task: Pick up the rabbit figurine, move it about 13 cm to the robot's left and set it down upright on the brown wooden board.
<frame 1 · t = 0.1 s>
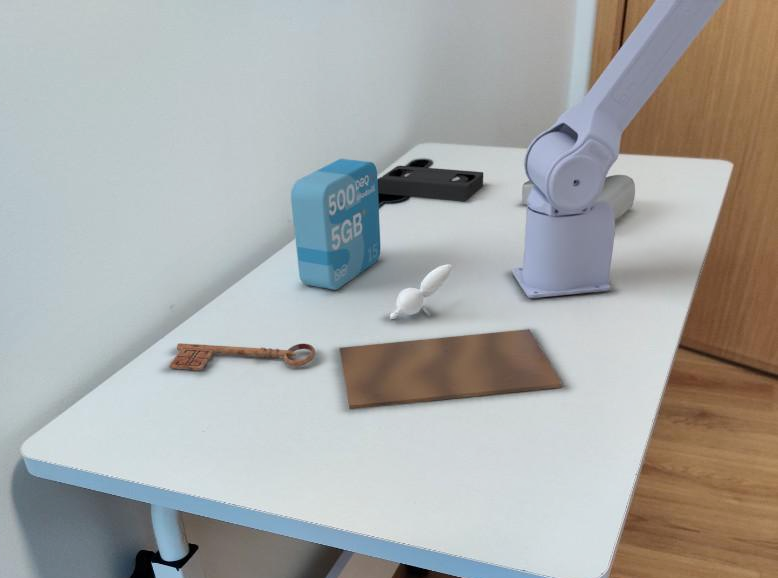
rabbit figurine: (424, 315, 93), on the table
brown wooden board: (444, 368, 83), on the table
key: (242, 361, 86), on the table
infrared thermometer: (566, 217, 115), on the table
data package: (342, 275, 103), on the table
vhs tape: (430, 190, 127), on the table
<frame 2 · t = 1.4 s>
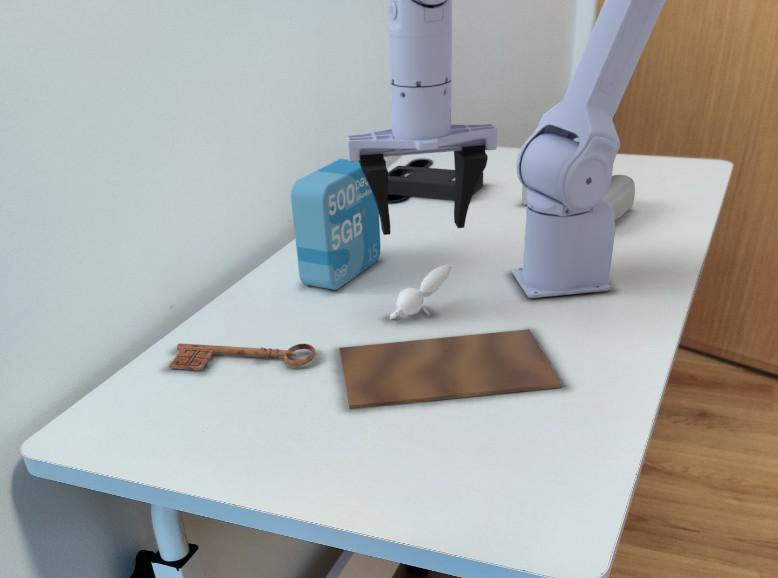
hand: (422, 228, 87), 9 cm above the table, tool pointing down, fingers open, 7 cm apart
nothing on the table moved.
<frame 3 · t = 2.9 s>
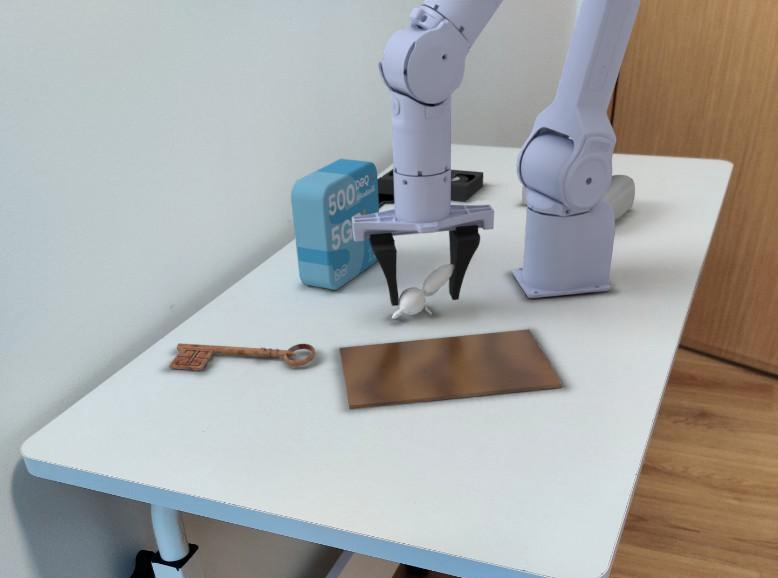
hand: (423, 299, 92), 2 cm above the table, tool pointing down, fingers closed on rabbit figurine, 6 cm apart
rabbit figurine: (426, 315, 93), on the table, touching gripper
everything else where it was.
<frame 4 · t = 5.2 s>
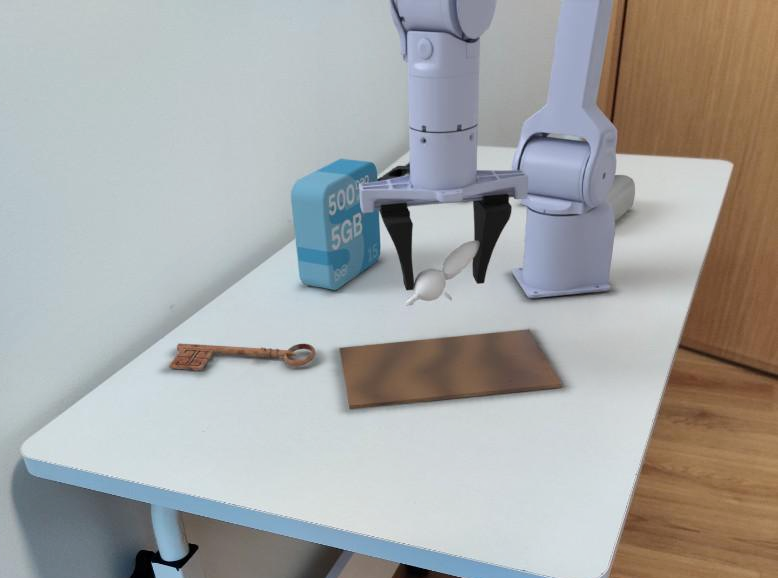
hand: (443, 282, 78), 8 cm above the table, tool pointing down, fingers closed on rabbit figurine, 6 cm apart
rabbit figurine: (445, 301, 79), point 6 cm above the table, touching gripper
everything else where it was.
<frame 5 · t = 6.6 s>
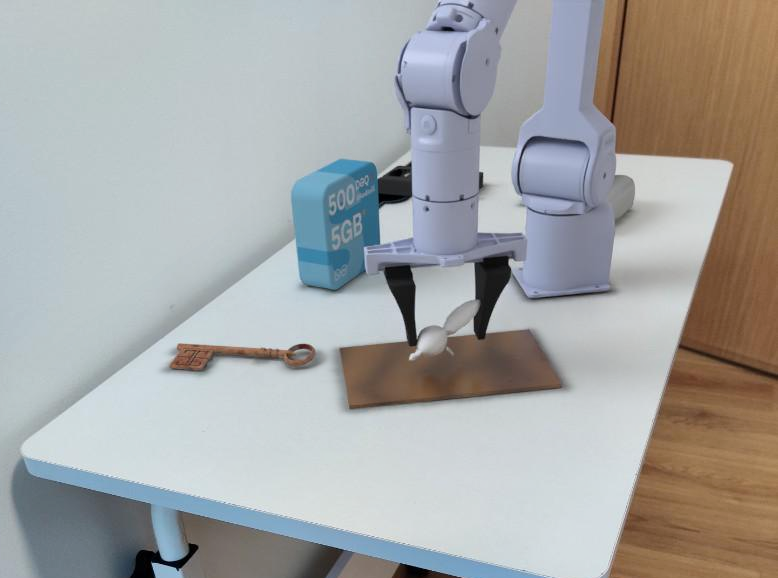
hand: (445, 338, 81), 3 cm above the table, tool pointing down, fingers closed on rabbit figurine, 6 cm apart
rabbit figurine: (447, 356, 82), point 1 cm above the table, touching gripper
everything else where it was.
when the fingers open (2 cm above the table, at t = 7.6 s): rabbit figurine stays where it is, resting on brown wooden board.
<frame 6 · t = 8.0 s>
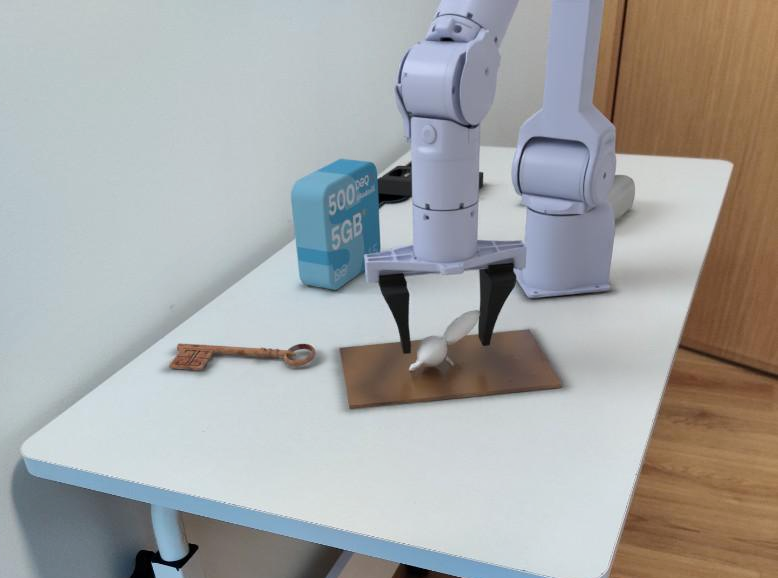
hand: (445, 345, 81), 2 cm above the table, tool pointing down, fingers open, 7 cm apart
rabbit figurine: (447, 366, 82), resting on brown wooden board
everything else where it was.
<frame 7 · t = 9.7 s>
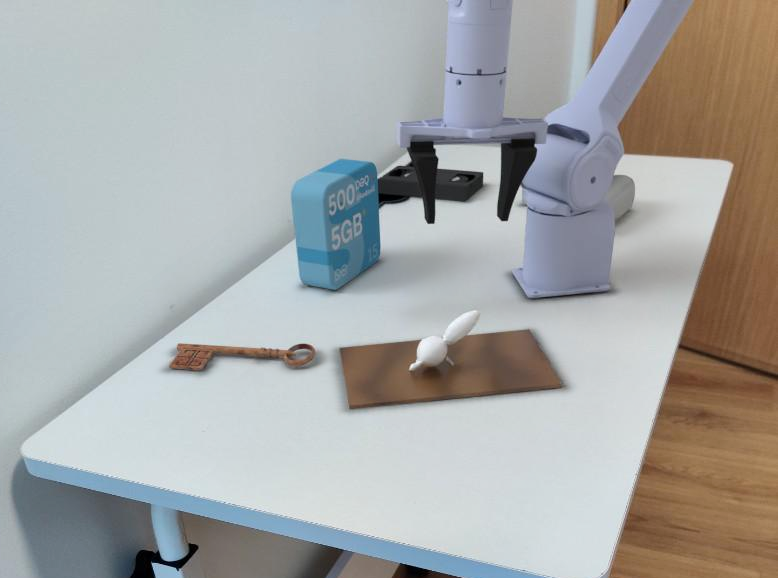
hand: (466, 219, 87), 10 cm above the table, tool pointing down, fingers open, 7 cm apart
nothing on the table moved.
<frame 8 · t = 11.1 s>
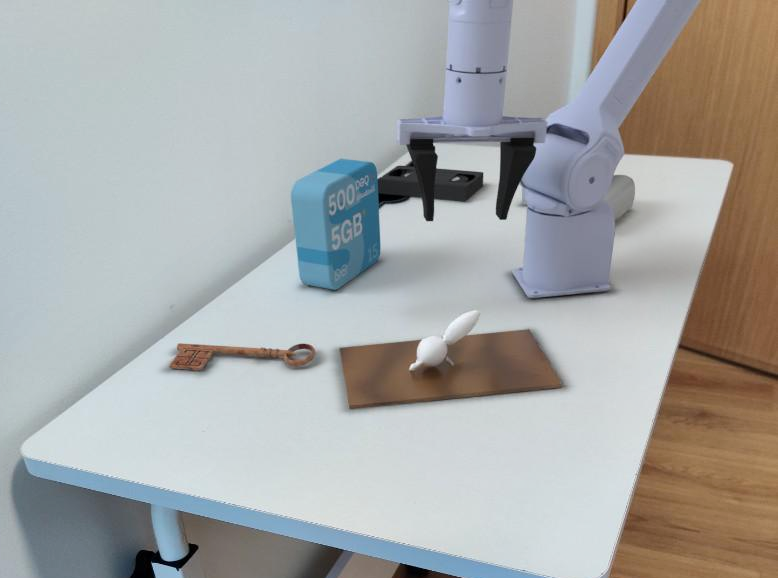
hand: (464, 217, 87), 10 cm above the table, tool pointing down, fingers open, 7 cm apart
nothing on the table moved.
at the end: rabbit figurine inside the target area on the brown wooden board (0.3 cm from its centre), point 0.2 cm above the brown wooden board's base; rabbit figurine touching brown wooden board; rabbit figurine tilted 1° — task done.
